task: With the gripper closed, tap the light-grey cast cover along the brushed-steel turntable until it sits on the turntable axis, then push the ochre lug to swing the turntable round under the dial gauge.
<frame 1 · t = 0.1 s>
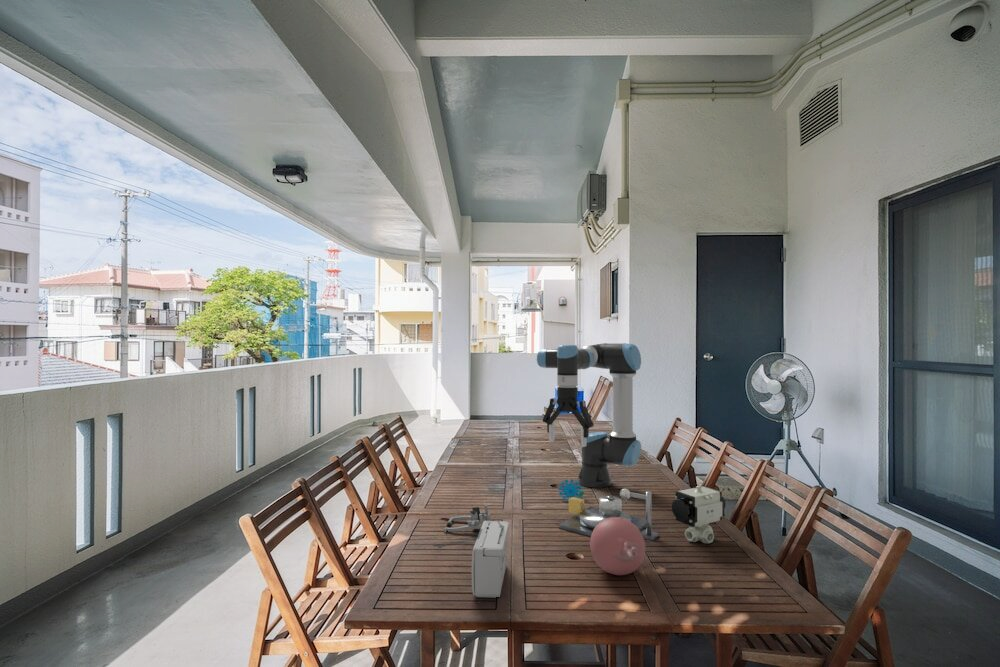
hand: (567, 444, 187), 28 cm above the table, fingers open, 13 cm apart
dial gauge: (648, 536, 171), on the table
cover: (610, 513, 185), point 3 cm above the table, touching turntable
bike brake: (461, 528, 180), on the table
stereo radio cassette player: (491, 582, 140), on the table
ball valve: (700, 541, 168), on the table
balloon: (619, 576, 143), on the table
turntable: (598, 511, 183), point 4 cm above the table, hinge at 0.0°, touching cover
blue virus model: (571, 500, 211), on the table
turntable base: (605, 525, 181), on the table
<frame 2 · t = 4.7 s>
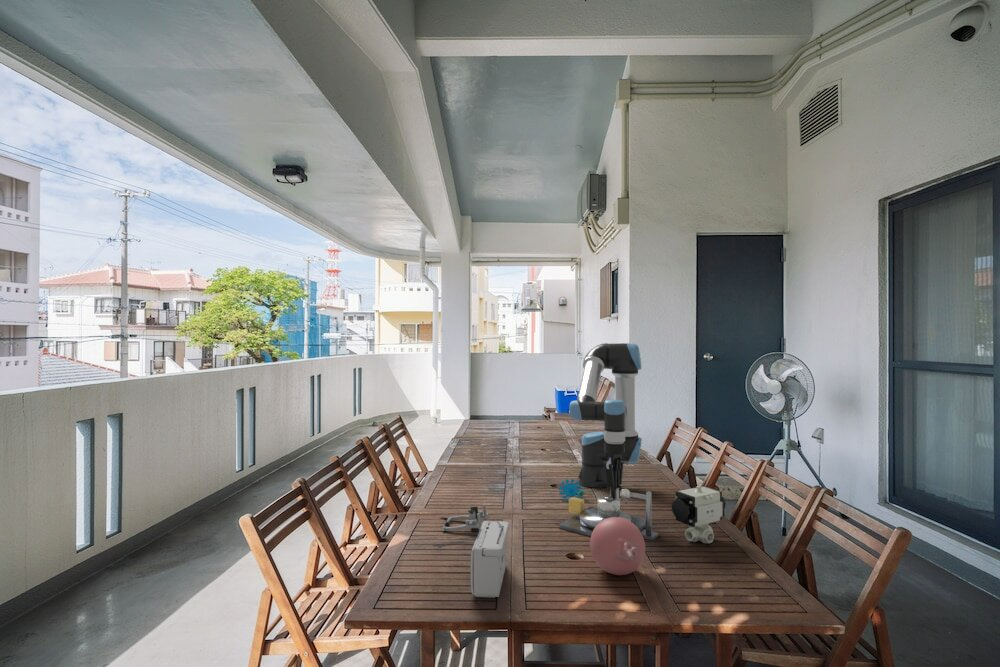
hand: (614, 505, 187), 5 cm above the table, fingers closed
cover: (608, 513, 184), point 3 cm above the table, touching gripper
turntable: (598, 511, 183), point 4 cm above the table, hinge at 0.0°
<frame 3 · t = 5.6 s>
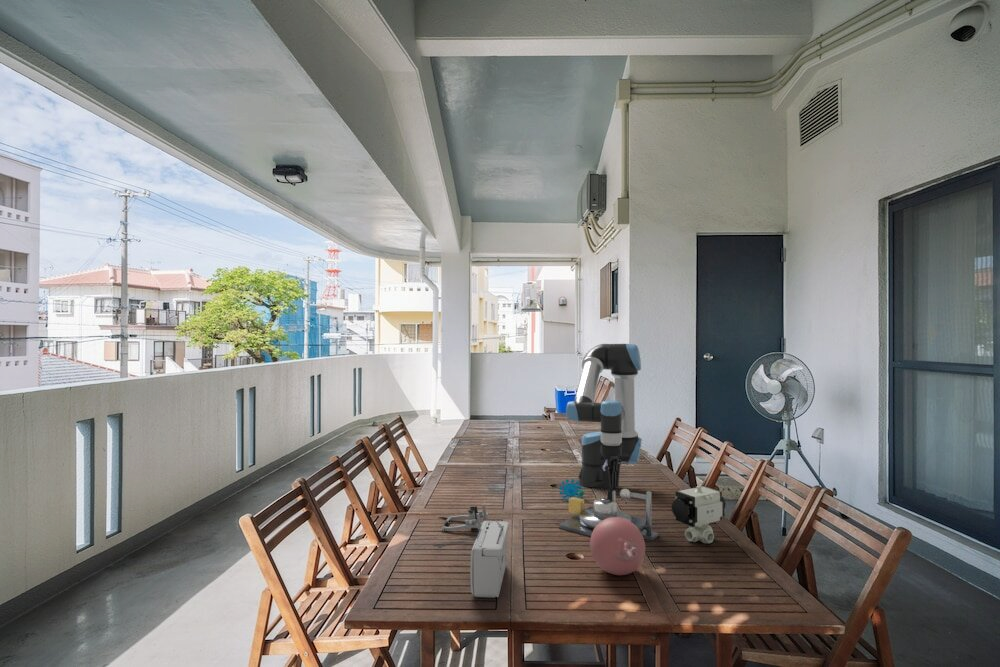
hand: (611, 508, 185), 5 cm above the table, fingers closed
cover: (605, 516, 182), point 3 cm above the table, touching gripper, turntable
turntable: (598, 511, 183), point 4 cm above the table, hinge at 0.0°, touching cover
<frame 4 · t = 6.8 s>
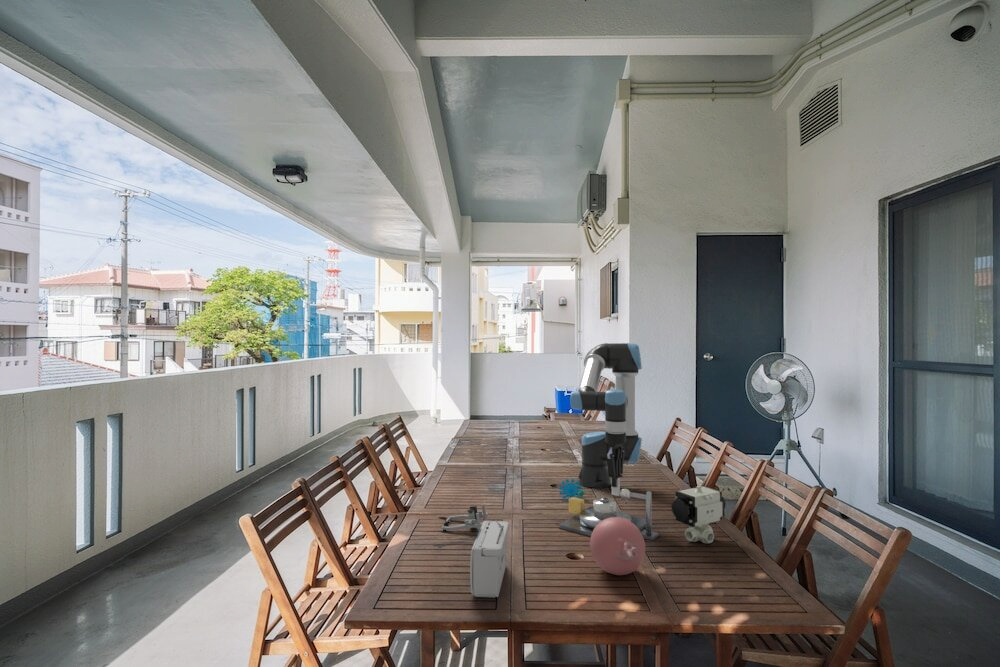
hand: (615, 494, 189), 9 cm above the table, fingers closed
cover: (605, 515, 182), point 3 cm above the table, touching turntable
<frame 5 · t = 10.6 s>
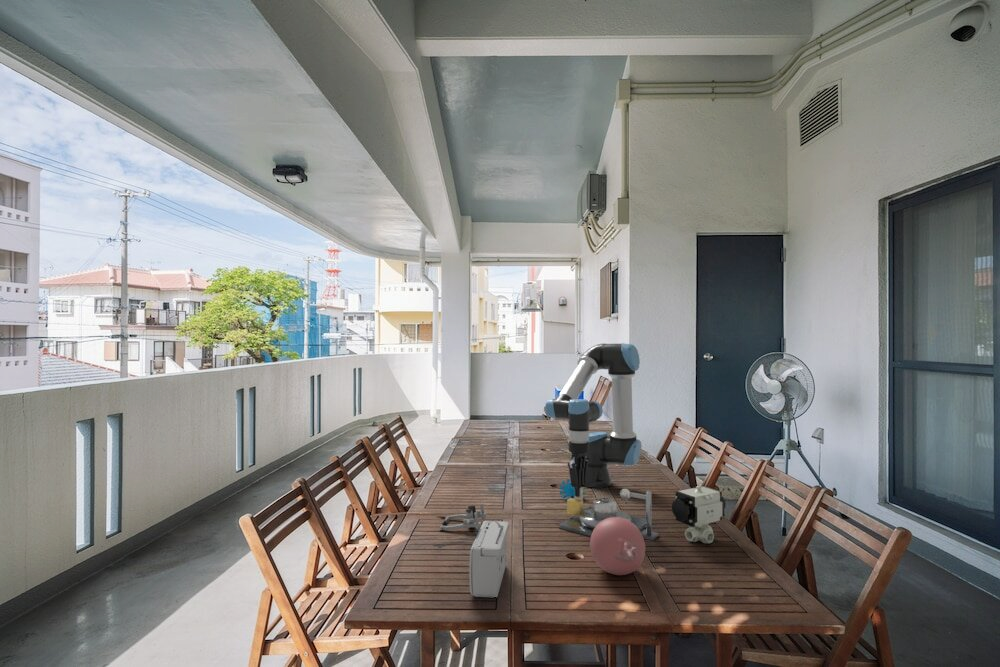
hand: (578, 504, 189), 5 cm above the table, fingers closed
turntable: (598, 512, 182), point 4 cm above the table, hinge at 7.0°, touching cover, gripper
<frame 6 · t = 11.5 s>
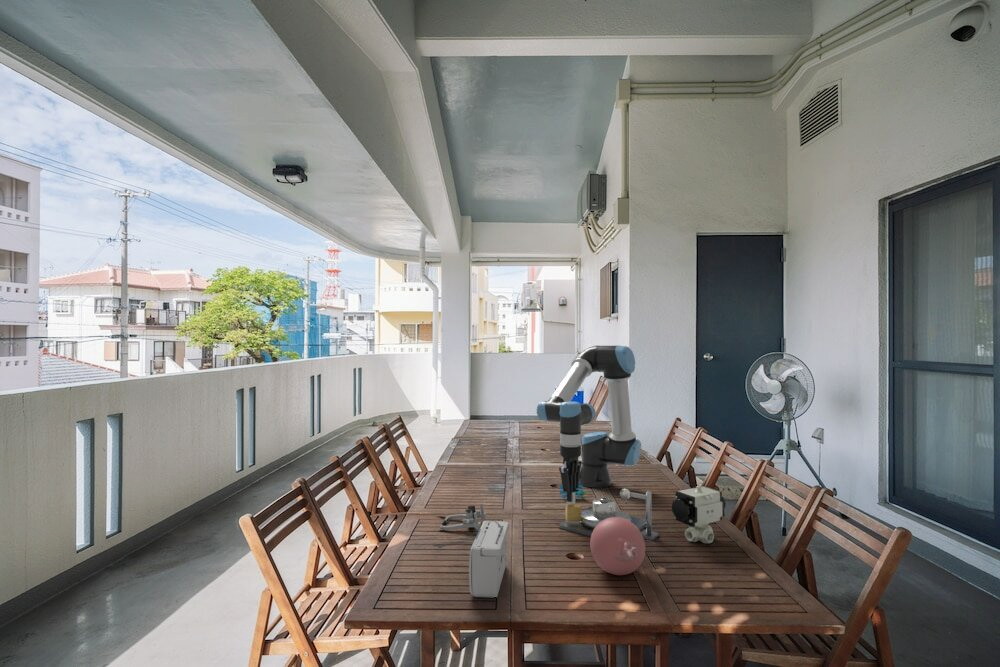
hand: (571, 509, 183), 5 cm above the table, fingers closed
turntable: (598, 513, 181), point 4 cm above the table, hinge at 40.6°, touching cover, gripper
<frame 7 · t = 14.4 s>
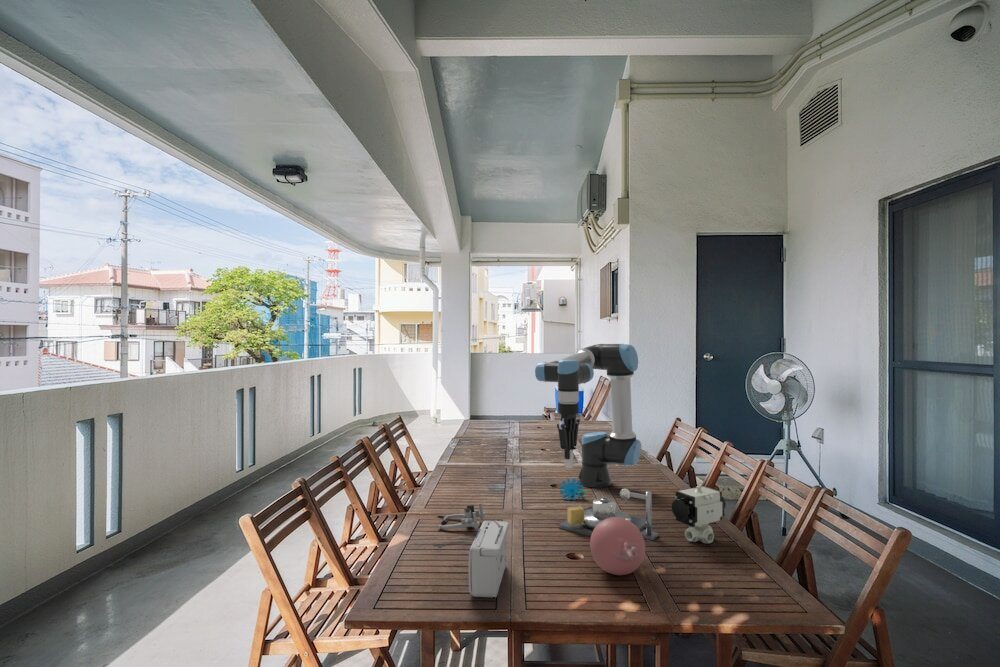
hand: (568, 467, 183), 20 cm above the table, fingers closed
turntable: (598, 514, 180), point 4 cm above the table, hinge at 53.8°, touching cover
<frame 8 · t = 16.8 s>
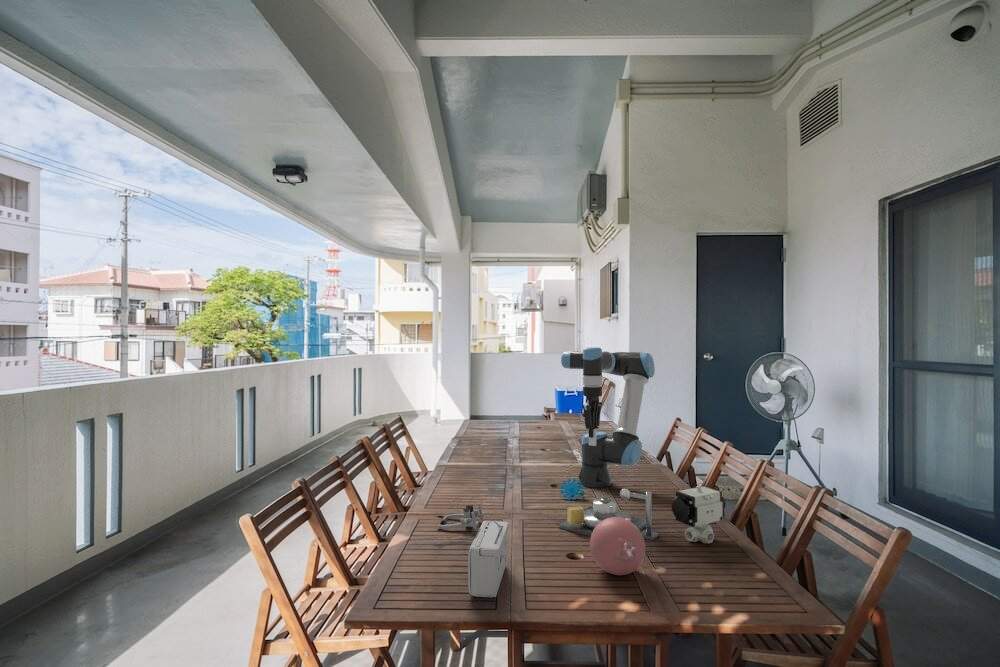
hand: (592, 445, 202), 24 cm above the table, fingers closed
at the end: cover 0.3 cm from the turntable (horizontally); turntable at +54° (first picture: +0°); cover tilted 2° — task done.
